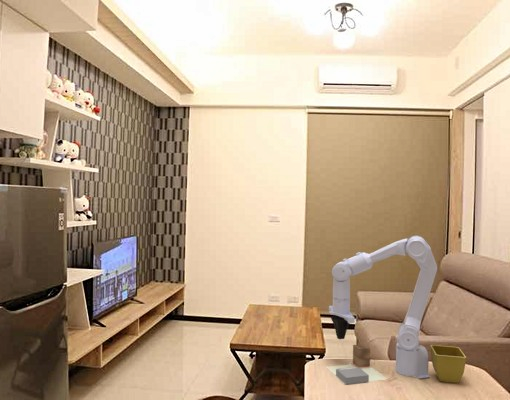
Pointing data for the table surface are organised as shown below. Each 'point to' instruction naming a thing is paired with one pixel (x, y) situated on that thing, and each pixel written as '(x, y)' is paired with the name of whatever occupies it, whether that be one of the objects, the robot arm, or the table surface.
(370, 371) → the puzzle board
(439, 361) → the flower pot
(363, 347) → the walnut block
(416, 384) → the table surface
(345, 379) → the sliding cover
